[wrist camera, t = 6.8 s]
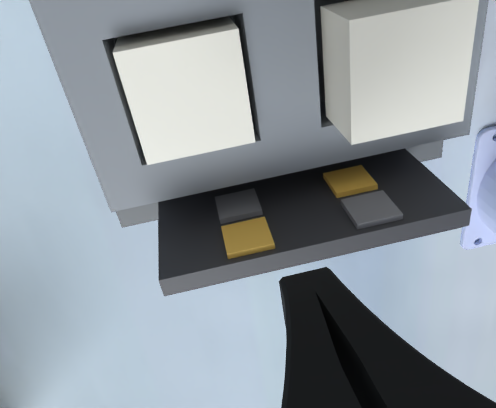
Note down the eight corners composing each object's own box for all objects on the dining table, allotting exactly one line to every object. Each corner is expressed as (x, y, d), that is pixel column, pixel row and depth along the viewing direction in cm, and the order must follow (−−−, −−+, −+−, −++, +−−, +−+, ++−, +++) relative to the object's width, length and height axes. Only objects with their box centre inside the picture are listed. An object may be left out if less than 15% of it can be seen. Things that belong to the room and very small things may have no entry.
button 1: (227, 14, 16) (238, 28, 14) (243, 115, 18) (255, 142, 16) (118, 34, 16) (112, 52, 14) (148, 135, 18) (147, 165, 16)
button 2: (432, -16, 15) (479, -5, 13) (423, 95, 17) (463, 121, 15) (320, 6, 15) (349, 20, 13) (326, 115, 17) (351, 145, 15)
